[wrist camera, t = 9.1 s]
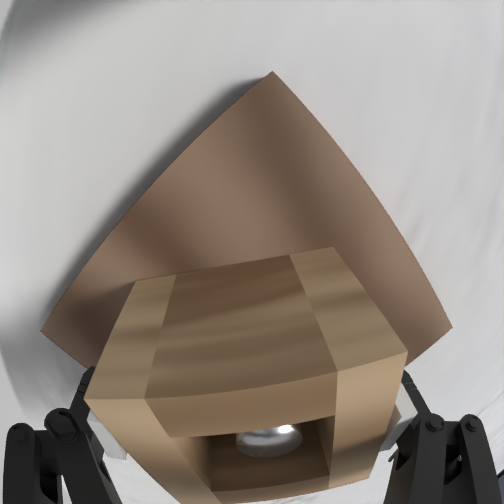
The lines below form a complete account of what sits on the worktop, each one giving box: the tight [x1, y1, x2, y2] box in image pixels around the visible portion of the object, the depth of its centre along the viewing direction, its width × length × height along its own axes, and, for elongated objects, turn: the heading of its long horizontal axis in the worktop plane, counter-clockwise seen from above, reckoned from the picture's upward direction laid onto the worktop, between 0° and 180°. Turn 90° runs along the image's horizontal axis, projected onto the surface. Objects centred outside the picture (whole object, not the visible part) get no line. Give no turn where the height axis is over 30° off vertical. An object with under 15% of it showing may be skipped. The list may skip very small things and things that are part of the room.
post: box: [236, 423, 303, 458], centre depth 13 cm, size 2×2×6 cm
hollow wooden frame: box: [84, 247, 408, 504], centre depth 13 cm, size 16×9×7 cm, turn 9°
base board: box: [40, 71, 453, 369], centre depth 16 cm, size 18×18×2 cm
